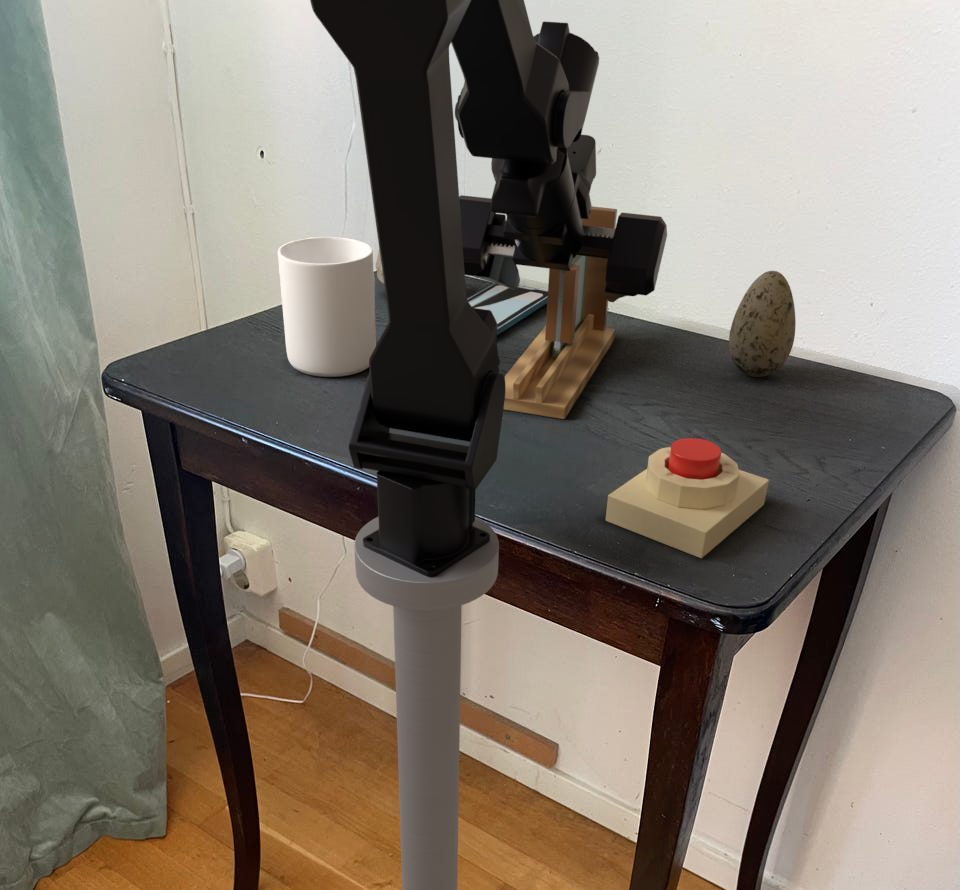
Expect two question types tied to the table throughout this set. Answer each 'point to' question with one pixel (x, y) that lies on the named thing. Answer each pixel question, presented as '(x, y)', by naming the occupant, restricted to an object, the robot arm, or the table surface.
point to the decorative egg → (763, 326)
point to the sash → (566, 303)
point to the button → (694, 458)
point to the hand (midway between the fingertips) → (564, 290)
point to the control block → (686, 504)
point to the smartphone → (508, 303)
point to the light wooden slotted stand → (561, 379)
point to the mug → (328, 305)
